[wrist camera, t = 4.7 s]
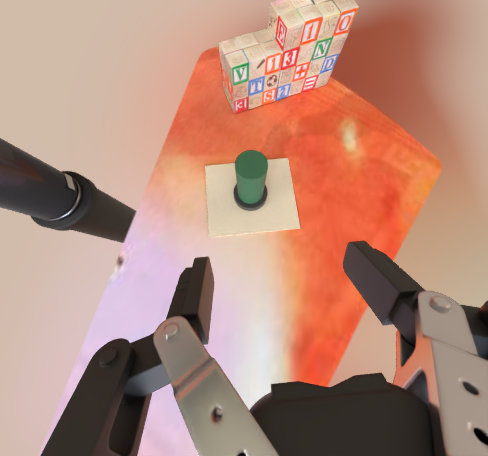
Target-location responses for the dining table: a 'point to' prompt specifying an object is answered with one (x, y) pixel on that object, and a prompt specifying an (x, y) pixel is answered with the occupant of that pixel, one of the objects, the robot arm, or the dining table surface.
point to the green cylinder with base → (250, 180)
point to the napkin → (242, 221)
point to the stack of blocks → (285, 52)
